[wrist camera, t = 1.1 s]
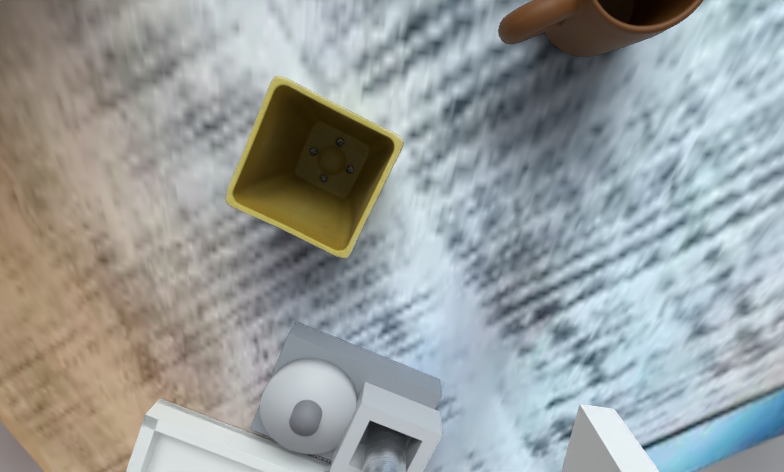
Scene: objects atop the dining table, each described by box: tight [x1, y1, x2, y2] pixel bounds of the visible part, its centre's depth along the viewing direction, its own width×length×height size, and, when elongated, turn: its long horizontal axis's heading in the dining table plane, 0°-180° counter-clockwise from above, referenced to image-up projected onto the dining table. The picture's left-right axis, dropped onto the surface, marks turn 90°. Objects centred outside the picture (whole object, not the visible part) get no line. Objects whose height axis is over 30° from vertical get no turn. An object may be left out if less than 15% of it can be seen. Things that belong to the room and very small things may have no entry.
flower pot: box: [226, 76, 404, 259], centre depth 33 cm, size 9×9×9 cm
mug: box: [498, 0, 703, 57], centre depth 30 cm, size 12×8×9 cm, turn 113°
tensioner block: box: [250, 322, 443, 472], centre depth 40 cm, size 14×10×6 cm
